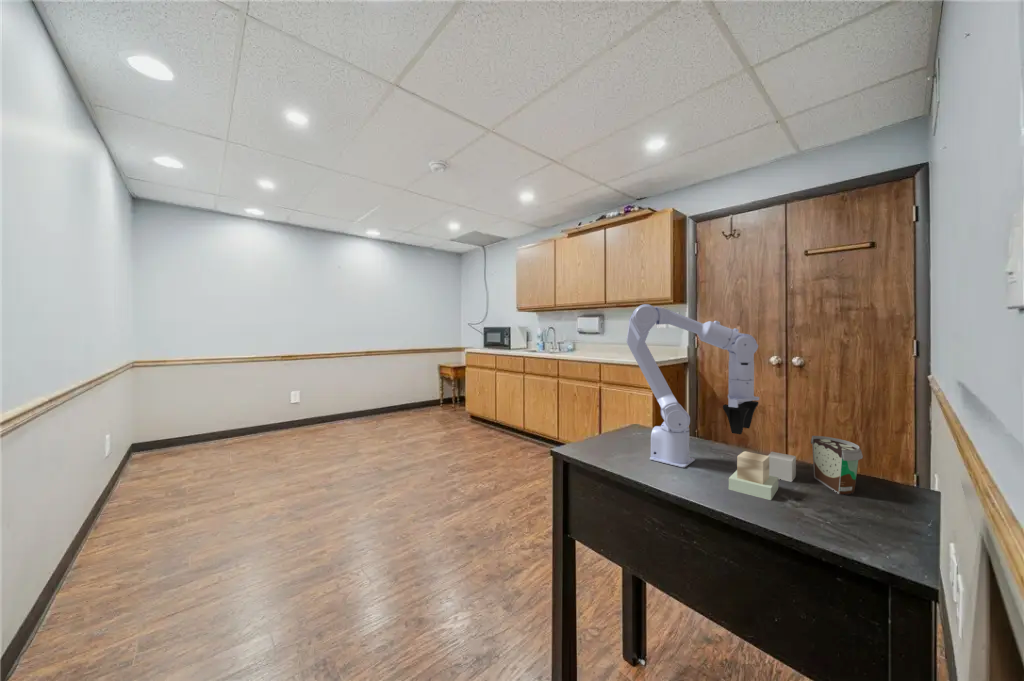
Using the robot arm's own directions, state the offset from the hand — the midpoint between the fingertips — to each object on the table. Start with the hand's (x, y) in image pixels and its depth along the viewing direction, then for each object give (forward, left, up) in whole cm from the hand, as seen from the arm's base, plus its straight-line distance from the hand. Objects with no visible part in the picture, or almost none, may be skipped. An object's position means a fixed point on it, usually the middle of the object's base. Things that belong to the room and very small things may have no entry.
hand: (740, 430), depth 99 cm
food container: (+20, +1, -10) cm, 22 cm away
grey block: (+9, -1, -10) cm, 13 cm away
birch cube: (+6, -14, -7) cm, 17 cm away
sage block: (+6, -14, -10) cm, 18 cm away
